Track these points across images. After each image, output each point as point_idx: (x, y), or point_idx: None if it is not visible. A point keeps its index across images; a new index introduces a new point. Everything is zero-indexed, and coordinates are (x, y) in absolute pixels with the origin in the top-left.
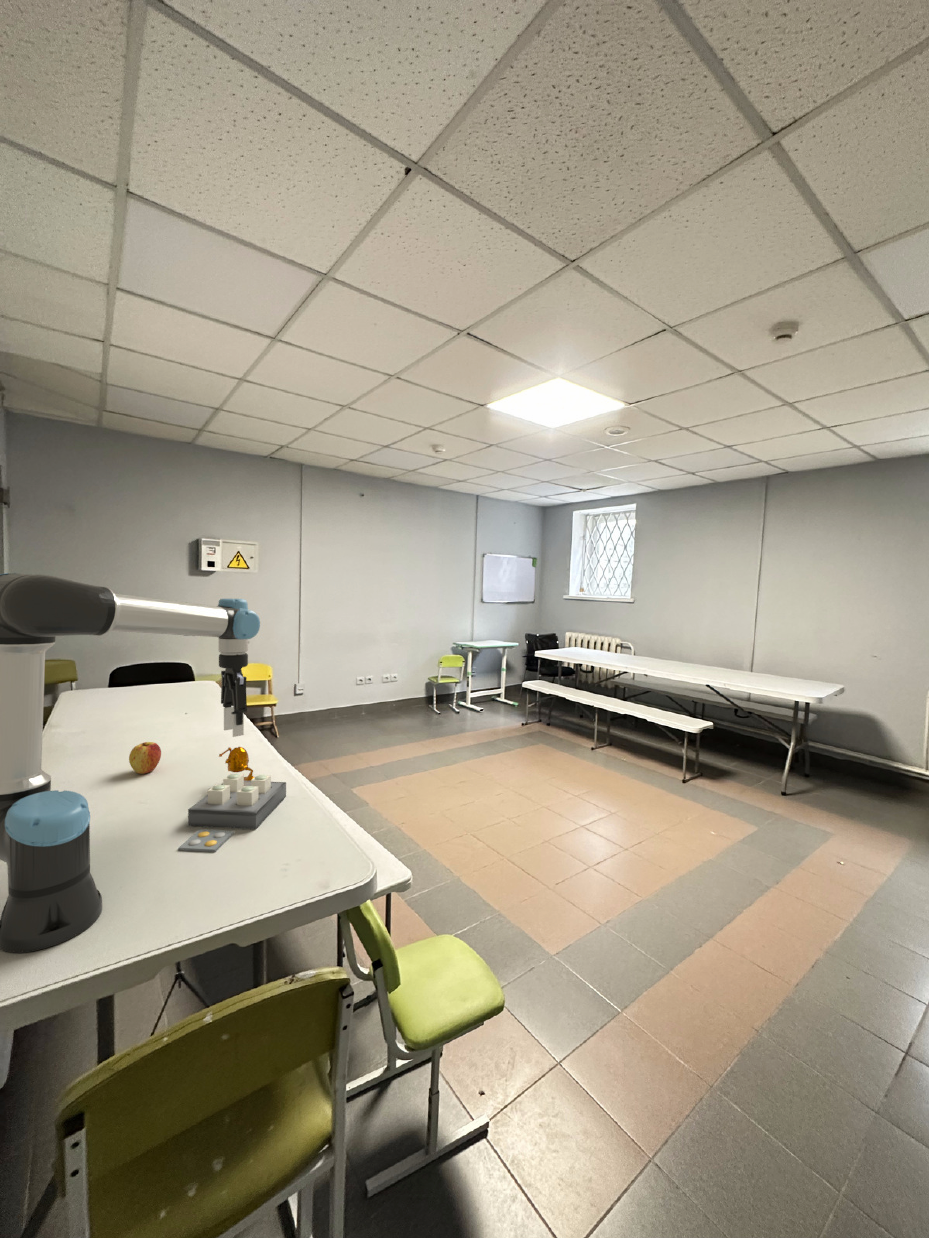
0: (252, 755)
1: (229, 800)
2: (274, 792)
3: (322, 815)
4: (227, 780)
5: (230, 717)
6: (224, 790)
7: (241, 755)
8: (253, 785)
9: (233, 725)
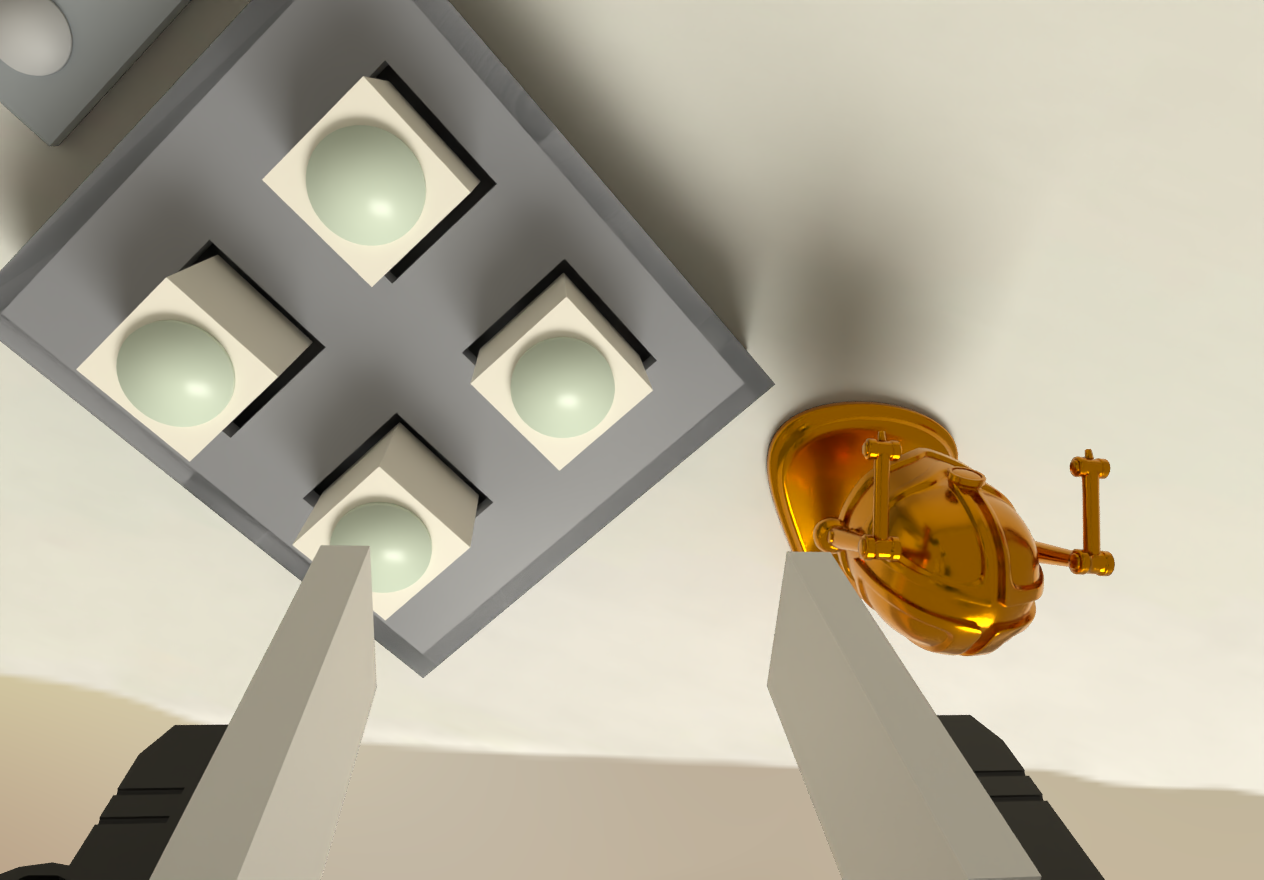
0: (1249, 706)
1: None
2: (284, 552)
3: (20, 666)
4: (535, 320)
5: (842, 786)
6: (294, 208)
7: (891, 589)
8: (369, 462)
9: (263, 670)
